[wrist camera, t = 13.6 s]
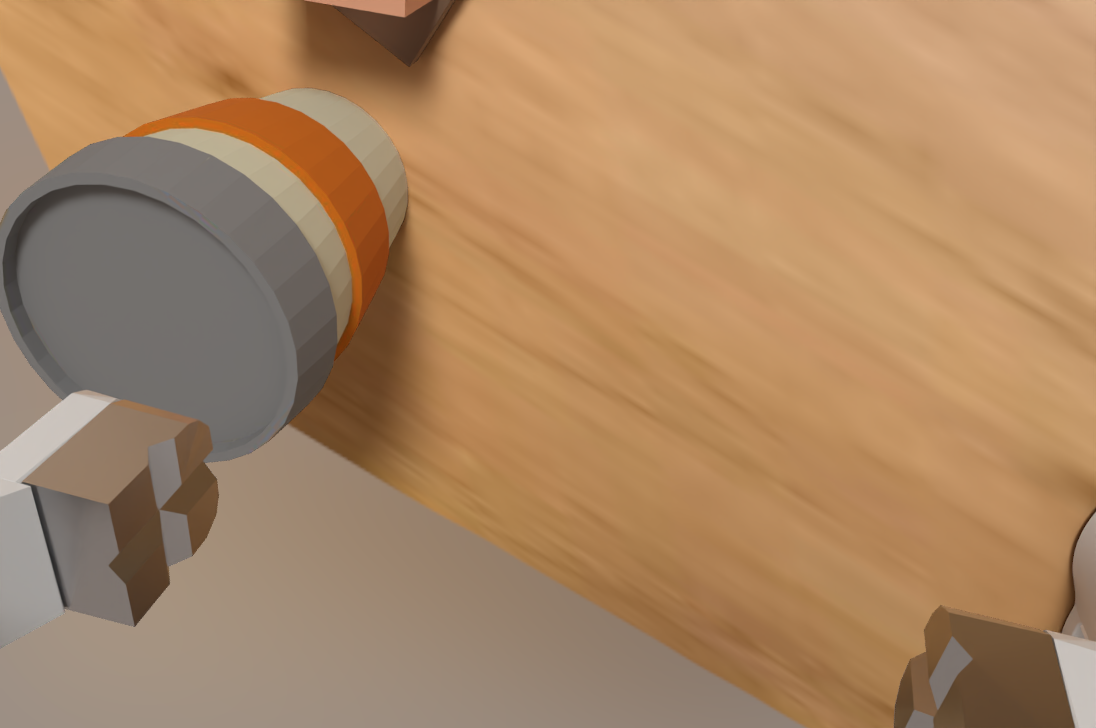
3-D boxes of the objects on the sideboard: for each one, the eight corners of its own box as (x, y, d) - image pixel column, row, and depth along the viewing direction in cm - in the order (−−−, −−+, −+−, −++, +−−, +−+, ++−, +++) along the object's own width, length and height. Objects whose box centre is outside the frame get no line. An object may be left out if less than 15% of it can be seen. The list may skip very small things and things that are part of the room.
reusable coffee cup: (404, 28, 41) (229, 143, 29) (470, 284, 47) (349, 467, 35) (166, 67, 45) (-78, 183, 33) (255, 299, 51) (78, 469, 39)
